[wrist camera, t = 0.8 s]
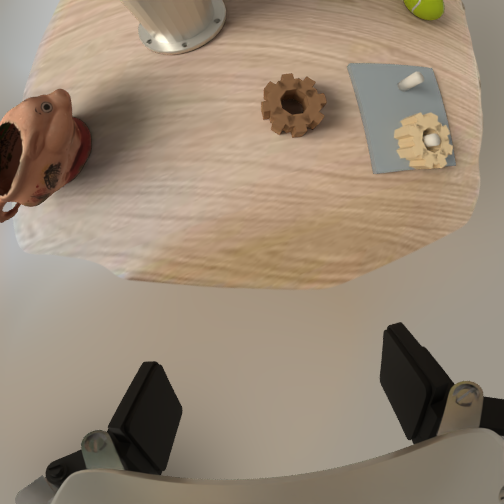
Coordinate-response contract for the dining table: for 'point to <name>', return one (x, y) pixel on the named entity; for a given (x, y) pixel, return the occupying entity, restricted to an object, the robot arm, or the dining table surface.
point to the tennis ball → (426, 8)
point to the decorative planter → (40, 150)
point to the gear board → (402, 117)
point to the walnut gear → (301, 94)
